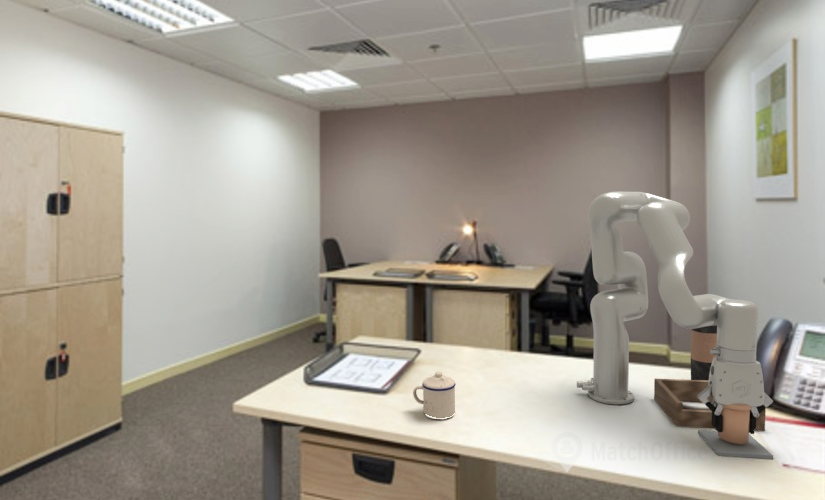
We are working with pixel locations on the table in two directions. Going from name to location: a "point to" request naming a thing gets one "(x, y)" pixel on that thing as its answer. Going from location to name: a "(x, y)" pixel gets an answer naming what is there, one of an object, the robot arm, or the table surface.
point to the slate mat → (734, 446)
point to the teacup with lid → (437, 396)
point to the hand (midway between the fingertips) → (733, 429)
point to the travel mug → (702, 351)
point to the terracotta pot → (735, 423)
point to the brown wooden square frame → (687, 390)
